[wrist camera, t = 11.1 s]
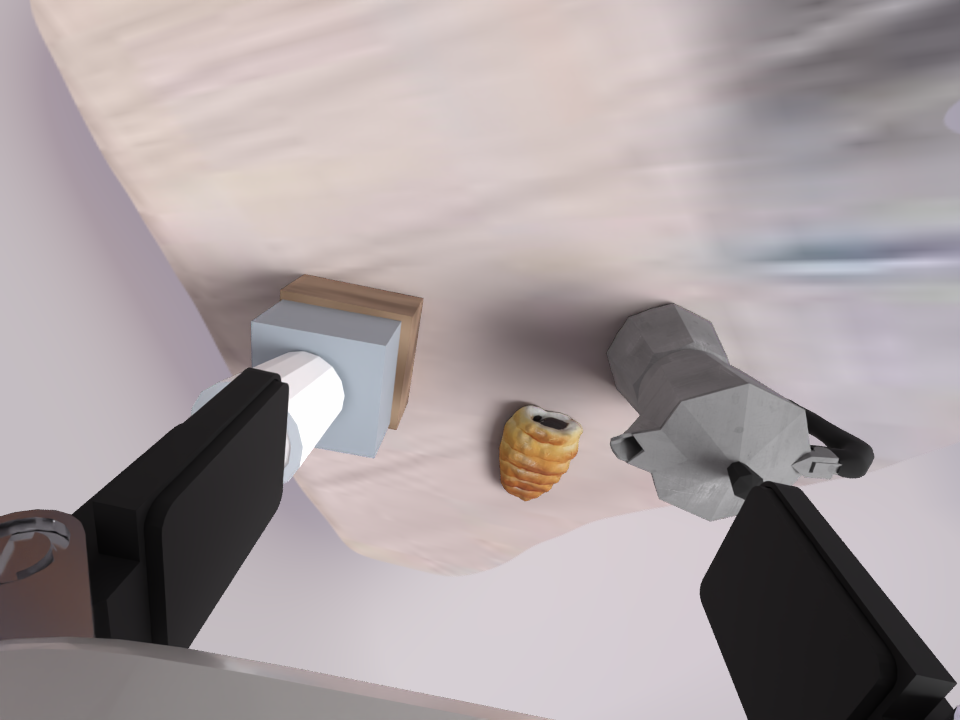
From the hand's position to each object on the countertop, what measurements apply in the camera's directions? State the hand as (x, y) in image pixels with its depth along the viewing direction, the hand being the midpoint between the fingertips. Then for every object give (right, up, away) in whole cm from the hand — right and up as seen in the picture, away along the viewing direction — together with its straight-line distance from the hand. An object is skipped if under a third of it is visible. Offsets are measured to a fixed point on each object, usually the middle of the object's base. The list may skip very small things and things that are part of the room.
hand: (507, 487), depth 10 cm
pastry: (+5, -5, +38) cm, 38 cm away
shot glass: (-12, +1, +25) cm, 28 cm away
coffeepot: (+16, +3, +33) cm, 37 cm away
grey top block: (-12, +2, +30) cm, 32 cm away
